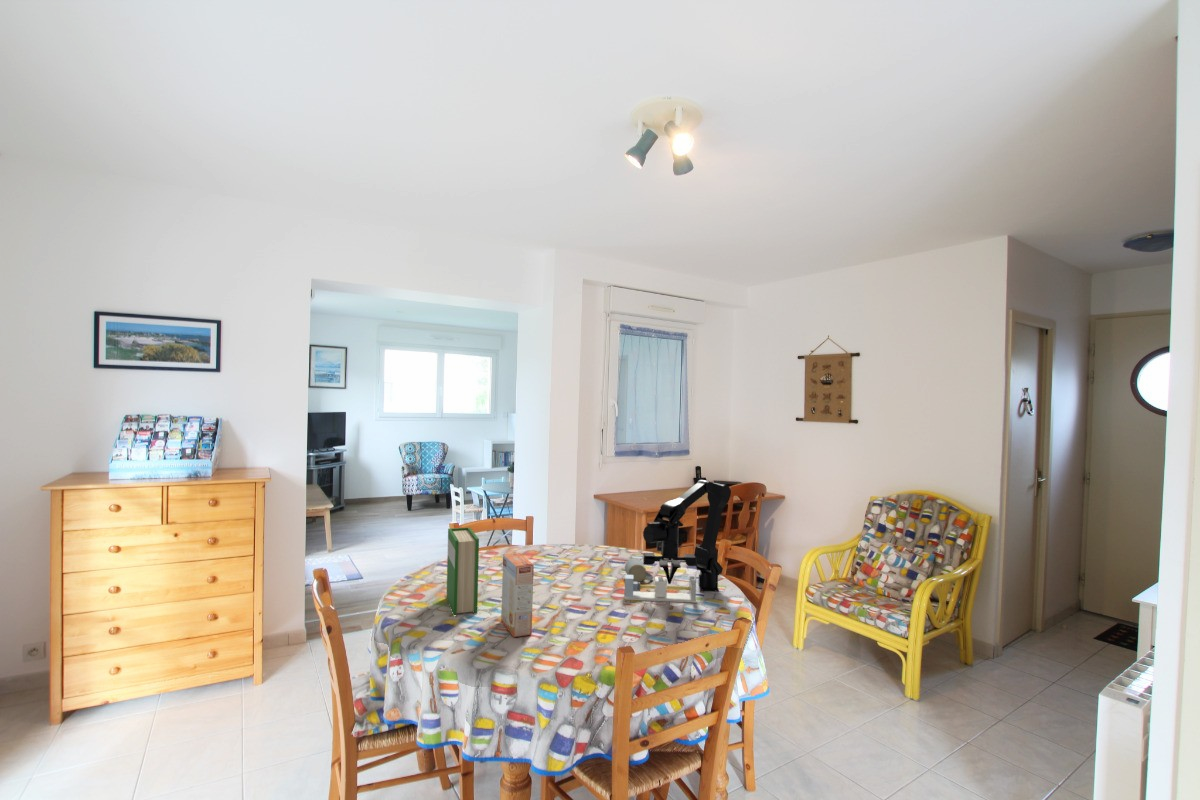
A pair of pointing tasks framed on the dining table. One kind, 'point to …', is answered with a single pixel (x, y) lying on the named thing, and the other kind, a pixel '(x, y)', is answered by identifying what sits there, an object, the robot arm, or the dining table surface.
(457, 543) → the hardback book
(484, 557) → the dining table surface
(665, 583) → the marker sleeve
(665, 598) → the cord rig
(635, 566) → the ceramic mug
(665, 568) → the robot arm
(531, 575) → the cracker box
